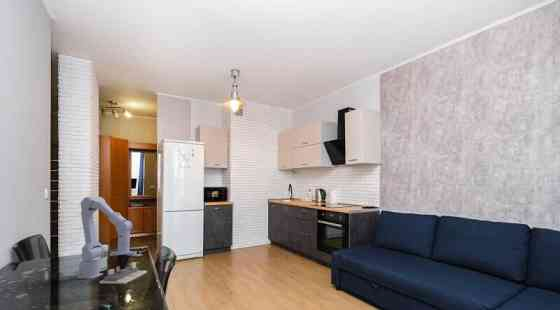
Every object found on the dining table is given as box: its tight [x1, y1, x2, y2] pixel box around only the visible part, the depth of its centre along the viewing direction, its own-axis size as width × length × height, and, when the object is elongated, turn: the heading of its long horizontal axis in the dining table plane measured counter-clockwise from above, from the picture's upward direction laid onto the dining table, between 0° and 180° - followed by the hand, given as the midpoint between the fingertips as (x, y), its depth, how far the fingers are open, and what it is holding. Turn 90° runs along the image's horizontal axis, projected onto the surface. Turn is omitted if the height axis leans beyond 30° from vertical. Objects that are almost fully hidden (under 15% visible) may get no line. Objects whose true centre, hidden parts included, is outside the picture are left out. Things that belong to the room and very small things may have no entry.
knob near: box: [107, 268, 115, 276], centre depth 146 cm, size 2×3×2 cm, turn 173°
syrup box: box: [99, 244, 109, 273], centre depth 167 cm, size 6×6×14 cm
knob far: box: [129, 262, 137, 269], centre depth 157 cm, size 2×3×2 cm, turn 173°
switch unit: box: [99, 266, 148, 285], centre depth 151 cm, size 14×19×3 cm
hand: (122, 269), depth 152 cm, fingers closed
